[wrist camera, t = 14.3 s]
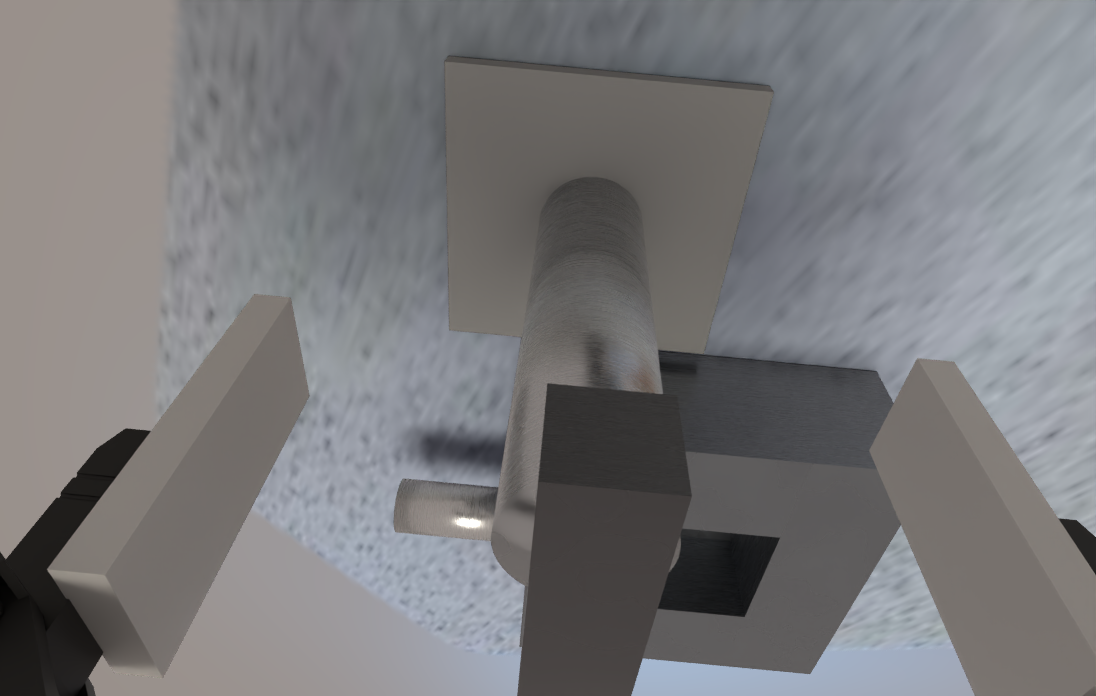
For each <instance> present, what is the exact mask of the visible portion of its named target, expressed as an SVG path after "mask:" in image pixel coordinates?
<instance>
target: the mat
mask: <svg viewBox="0 0 1096 696" xmlns="http://www.w3.org/2000/svg"><path fill="white" fill-rule="evenodd" d="M444 64H445V120H446V177H447V233H448V290H449V330H452V331H463V332H474V333H484V334H495V335H506V336H516V337H522V331H523V325H524V318H525V312H526V305H527V299H528V292H529V286H530V279H531V273H532V266H533V260H534V253H535V247H536V240H537V234H538V227H539V221H540V214H541V211H542V208H543V206H544V204H545V202H546V200H547V199H548V197H549V196H550V195H551V194H552V193H553V192H554V191H555V190H556V189H557V188H559V187H560V186H562V185H563V184H565V183H567V182H569V181H572V180H574V179H578V178H583V177H599V178H605V179H608V180H611V181H613V182H616V183H618V184H619V185H621V186H622V187H624V188H625V189H626V190H627V191H628V192H629V193H630V194H631V195H632V196H633V197H634V199H635V200H636V202H637V204H638V206H639V208H640V211H641V216H642V222H643V231H644V239H645V247H646V256H647V264H648V272H649V281H650V289H651V297H652V305H653V314H654V322H655V330H656V339H657V347H658V350H665V351H676V352H687V353H697V354H704V351H705V347H706V343H707V340H708V336H709V332H710V329H711V325H712V321H713V317H714V314H715V310H716V306H717V302H718V299H719V295H720V291H721V288H722V284H723V280H724V276H725V273H726V269H727V265H728V262H729V258H730V254H731V250H732V247H733V243H734V239H735V235H736V232H737V228H738V224H739V221H740V217H741V213H742V209H743V206H744V202H745V198H746V195H747V191H748V187H749V183H750V180H751V176H752V172H753V169H754V165H755V161H756V157H757V154H758V150H759V146H760V142H761V139H762V135H763V131H764V128H765V124H766V120H767V116H768V113H769V109H770V105H771V102H772V98H773V94H774V91H773V90H772V89H771V87H770V86H765V85H755V84H744V83H733V82H722V81H712V80H701V79H690V78H679V77H669V76H658V75H647V74H636V73H626V72H615V71H604V70H594V69H583V68H572V67H561V66H551V65H540V64H529V63H518V62H508V61H497V60H486V59H475V58H465V57H454V56H448V57H447V59H446V60H445V61H444Z"/></svg>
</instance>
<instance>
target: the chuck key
mask: <svg viewBox="0 0 1096 696" xmlns="http://www.w3.org/2000/svg"><path fill="white" fill-rule="evenodd" d="M691 498H692V493H691V486H690V480H689V473H688V466H687V459H686V452H685V445H684V438H683V432H682V425H681V418H680V411H679V404H678V397H677V395H666V394H663V389H662V380H661V372H660V364H659V355H658V347H657V339H656V330H655V322H654V314H653V305H652V297H651V289H650V281H649V272H648V264H647V256H646V247H645V239H644V231H643V222H642V216H641V211H640V208H639V206H638V204H637V202H636V200H635V199H634V197H633V196H632V195H631V194H630V193H629V192H628V191H627V190H626V189H625V188H624V187H622V186H621V185H619V184H618V183H616V182H613V181H611V180H608V179H605V178H599V177H583V178H578V179H574V180H572V181H569V182H567V183H565V184H563V185H562V186H560V187H559V188H557V189H556V190H555V191H554V192H553V193H552V194H551V195H550V196H549V197H548V199H547V200H546V202H545V204H544V206H543V208H542V211H541V214H540V221H539V227H538V234H537V240H536V247H535V253H534V260H533V266H532V273H531V279H530V286H529V292H528V299H527V305H526V312H525V318H524V325H523V331H522V338H521V344H520V351H519V357H518V364H517V370H516V377H515V383H514V390H513V396H512V403H511V409H510V416H509V422H508V429H507V436H506V442H505V449H504V455H503V462H502V468H501V475H500V481H499V488H498V494H497V501H496V507H495V514H494V520H493V527H492V534H491V545H492V549H493V553H494V555H495V557H496V559H497V561H498V562H499V564H500V565H501V566H502V568H503V569H504V570H505V571H506V572H507V573H508V574H509V575H511V576H512V577H513V578H514V579H515V580H517V581H519V582H520V583H522V584H523V585H525V586H527V587H528V589H527V599H526V610H525V620H524V631H523V641H522V651H521V662H520V673H519V684H518V694H517V696H631V694H632V691H633V688H634V685H635V681H636V678H637V675H638V672H639V668H640V665H641V662H642V658H643V655H644V652H645V649H646V645H647V642H648V639H649V636H650V632H651V629H652V626H653V622H654V619H655V616H656V613H657V609H658V606H659V603H660V600H661V596H662V593H663V590H664V586H665V583H666V580H667V577H668V573H669V572H670V571H671V570H672V568H673V567H674V565H675V564H676V562H677V559H678V557H679V554H680V549H681V538H680V534H681V531H682V527H683V524H684V521H685V518H686V514H687V511H688V508H689V505H690V501H691Z"/></svg>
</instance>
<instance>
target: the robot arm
mask: <svg viewBox="0 0 1096 696" xmlns="http://www.w3.org/2000/svg"><path fill="white" fill-rule="evenodd" d="M308 398H309V390H308V385H307V380H306V375H305V369H304V364H303V359H302V354H301V349H300V343H299V338H298V333H297V328H296V323H295V317H294V312H293V307H292V302H291V298H290V297H280V296H269V295H259V294H254V295H253V296H252V298H251V299H250V300H249V302H248V303H247V304H246V306H245V307H244V308H243V310H242V311H241V312H240V314H239V315H238V316H237V318H236V319H235V320H234V322H233V323H232V324H231V326H230V327H229V328H228V330H227V331H226V332H225V334H224V335H223V336H222V338H221V339H220V340H219V342H218V343H217V344H216V346H215V347H214V348H213V350H212V351H211V352H210V354H209V355H208V356H207V358H206V359H205V360H204V362H203V363H202V364H201V365H200V367H199V368H198V369H197V371H196V372H195V373H194V375H193V376H192V377H191V379H190V380H189V381H188V383H187V384H186V385H185V387H184V388H183V389H182V391H181V392H180V393H179V395H178V396H177V397H176V399H175V400H174V401H173V403H172V404H171V405H170V407H169V408H168V409H167V411H166V412H165V413H164V415H163V416H162V417H161V419H160V420H159V421H158V423H157V424H156V425H155V427H154V428H153V429H152V431H146V430H136V429H124V430H123V431H121V432H120V433H119V434H117V435H116V436H114V437H113V438H111V439H110V440H108V441H107V442H106V443H104V444H103V445H101V446H100V447H98V448H97V449H96V450H95V451H94V453H93V454H92V455H91V456H90V458H89V459H88V460H87V461H86V463H85V464H84V465H83V466H82V467H81V468H80V470H79V471H78V472H77V477H76V478H73V479H71V481H70V482H69V483H68V484H67V486H66V487H65V488H64V489H63V490H62V492H61V496H60V498H56V499H55V500H54V501H53V503H52V504H51V505H50V506H49V507H48V509H47V510H46V511H45V512H44V514H43V515H42V516H41V517H40V518H39V520H38V521H37V522H36V523H35V525H34V526H33V527H32V528H31V529H30V531H29V532H28V533H27V534H26V536H25V537H24V538H23V539H22V541H21V542H20V543H19V544H18V545H17V547H16V548H15V549H14V550H13V551H12V553H11V554H10V555H9V556H8V558H7V559H5V558H4V557H3V555H2V554H1V553H0V696H95V691H94V687H93V685H92V683H91V682H90V680H89V678H88V677H89V675H90V674H91V672H92V671H93V669H94V667H95V666H96V664H97V662H98V661H99V659H100V657H101V656H102V655H103V656H104V658H105V659H106V661H107V663H108V664H109V666H110V667H111V669H112V670H113V672H114V673H118V674H128V675H137V676H147V677H157V678H163V677H164V675H165V673H166V671H167V669H168V667H169V666H170V664H171V662H172V660H173V658H174V656H175V654H176V652H177V650H178V648H179V646H180V644H181V643H182V641H183V639H184V637H185V635H186V633H187V631H188V629H189V627H190V625H191V623H192V621H193V619H194V617H195V616H196V614H197V612H198V610H199V608H200V606H201V604H202V602H203V600H204V598H205V596H206V594H207V592H208V591H209V588H210V587H211V585H212V583H213V581H214V579H215V577H216V575H217V573H218V571H219V569H220V567H221V565H222V563H223V562H224V560H225V558H226V556H227V554H228V552H229V550H230V548H231V546H232V544H233V542H234V540H235V538H236V536H237V534H238V532H239V531H240V529H241V527H242V525H243V523H244V521H245V519H246V517H247V515H248V513H249V512H250V510H251V508H252V506H253V504H254V502H255V500H256V498H257V496H258V494H259V492H260V490H261V488H262V486H263V485H264V483H265V481H266V479H267V477H268V475H269V473H270V471H271V469H272V467H273V465H274V463H275V461H276V460H277V458H278V456H279V454H280V452H281V450H282V448H283V446H284V444H285V442H286V440H287V438H288V436H289V434H290V433H291V431H292V429H293V427H294V425H295V423H296V421H297V419H298V417H299V415H300V413H301V411H302V409H303V408H304V406H305V404H306V402H307V400H308ZM869 452H870V454H871V456H872V459H873V461H874V463H875V466H876V468H877V470H878V472H879V475H880V477H881V479H882V482H883V484H884V486H885V489H886V491H887V493H888V496H889V498H890V500H891V503H892V505H893V507H894V510H895V512H896V514H897V516H898V519H899V521H900V523H901V526H902V528H903V530H904V533H905V535H906V537H907V540H908V542H909V544H910V547H911V549H912V551H913V554H914V556H915V558H916V560H917V563H918V565H919V567H920V570H921V572H922V574H923V577H924V579H925V581H926V584H927V586H928V588H929V591H930V593H931V595H932V598H933V600H934V602H935V604H936V607H937V609H938V611H939V614H940V616H941V618H942V621H943V623H944V625H945V628H946V630H947V632H948V635H949V637H950V639H951V642H952V644H953V646H954V648H955V651H956V653H957V655H958V658H959V660H960V662H961V665H962V667H963V669H964V672H965V674H966V676H967V678H968V681H969V683H970V685H971V688H972V690H973V692H974V694H975V696H1096V537H1095V536H1094V535H1093V534H1092V533H1090V532H1089V531H1088V530H1087V529H1086V528H1085V527H1084V526H1082V525H1081V524H1080V523H1079V522H1078V521H1077V520H1069V519H1059V518H1058V517H1057V516H1056V514H1055V513H1054V511H1053V510H1052V508H1051V507H1050V505H1049V504H1048V502H1047V501H1046V499H1045V498H1044V496H1043V495H1042V493H1041V492H1040V490H1039V489H1038V487H1037V486H1036V484H1035V483H1034V481H1033V480H1032V478H1031V477H1030V475H1029V474H1028V472H1027V471H1026V469H1025V468H1024V466H1023V465H1022V463H1021V462H1020V460H1019V459H1018V457H1017V456H1016V454H1015V453H1014V451H1013V450H1012V448H1011V447H1010V445H1009V444H1008V442H1007V441H1006V439H1005V438H1004V436H1003V435H1002V433H1001V432H1000V430H999V429H998V427H997V426H996V424H995V423H994V421H993V420H992V418H991V417H990V415H989V414H988V412H987V411H986V409H985V408H984V406H983V405H982V403H981V402H980V400H979V399H978V397H977V396H976V394H975V393H974V391H973V390H972V388H971V387H970V385H969V384H968V382H967V381H966V379H965V378H964V376H963V375H962V373H961V372H960V370H959V369H958V367H957V366H956V364H955V362H950V361H940V360H930V359H919V358H917V360H916V362H915V364H914V366H913V368H912V369H911V371H910V373H909V375H908V377H907V379H906V381H905V383H904V385H903V387H902V389H901V390H900V392H899V394H898V396H897V398H896V400H895V402H894V404H893V406H892V408H891V410H890V411H889V413H888V415H887V417H886V419H885V421H884V423H883V425H882V427H881V429H880V431H879V432H878V434H877V436H876V438H875V440H874V442H873V444H872V446H871V448H870V450H869Z"/></svg>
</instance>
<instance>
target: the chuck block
mask: <svg viewBox="0 0 1096 696" xmlns="http://www.w3.org/2000/svg"><path fill="white" fill-rule="evenodd" d="M658 355H659V364H660V372H661V380H662V389H663V394H666V395H677V397H678V404H679V411H680V418H681V425H682V432H683V438H684V445H685V452H686V459H687V466H688V473H689V480H690V486H691V493H692V498H691V501H690V505H689V508H688V511H687V514H686V518H685V521H684V524H683V527H682V531H681V534H680V538H681V549H680V554H679V557H678V559H677V562H676V564H675V565H674V567H673V568H672V570H671V571H670V572H669V573H668V577H667V580H666V583H665V586H664V590H663V593H662V596H661V600H660V603H659V606H658V609H657V613H656V616H655V619H654V622H653V626H652V629H651V632H650V636H649V639H648V642H647V645H646V649H645V652H644V655H643V658H646V659H656V660H668V661H677V662H688V663H700V664H709V665H720V666H730V667H742V668H752V669H762V670H772V671H783V672H793V673H804V674H810V673H811V672H812V670H813V668H814V667H815V665H816V664H817V662H818V660H819V659H820V657H821V655H822V654H823V652H824V650H825V649H826V647H827V645H828V644H829V642H830V641H831V639H832V637H833V636H834V634H835V632H836V631H837V629H838V627H839V626H840V624H841V622H842V621H843V619H844V618H845V616H846V614H847V613H848V611H849V609H850V608H851V606H852V604H853V603H854V601H855V599H856V598H857V596H858V595H859V593H860V591H861V590H862V588H863V586H864V585H865V583H866V581H867V580H868V578H869V576H870V575H871V573H872V572H873V570H874V568H875V567H876V565H877V563H878V562H879V560H880V558H881V557H882V555H883V553H884V552H885V550H886V548H887V547H888V545H889V544H890V542H891V540H892V539H893V537H894V535H895V534H896V532H897V530H898V529H899V527H900V525H901V523H900V521H899V519H898V516H897V514H896V512H895V510H894V507H893V505H892V503H891V500H890V498H889V496H888V493H887V491H886V489H885V486H884V484H883V482H882V479H881V477H880V475H879V472H878V470H877V468H876V466H875V463H874V461H873V459H872V456H871V454H870V452H869V450H870V448H871V446H872V444H873V442H874V440H875V438H876V436H877V434H878V432H879V431H880V429H881V427H882V425H883V423H884V421H885V419H886V417H887V415H888V413H889V411H890V410H891V408H892V406H893V404H894V403H893V401H892V400H891V398H890V396H889V394H888V392H887V390H886V388H885V386H884V385H883V383H882V381H881V379H880V377H879V375H878V373H877V372H874V371H864V370H853V369H842V368H832V367H821V366H811V365H800V364H789V363H779V362H768V361H757V360H747V359H736V358H725V357H715V356H704V355H693V354H683V353H672V352H661V351H658ZM498 488H499V487H489V486H478V485H468V484H457V483H447V482H436V481H425V480H415V479H402V481H401V483H400V485H399V488H398V492H397V497H396V502H395V509H394V529H395V532H398V533H408V534H419V535H430V536H440V537H451V538H461V539H472V540H483V541H491V534H492V527H493V520H494V514H495V507H496V501H497V494H498ZM527 589H528V587H527V586H525V592H524V603H523V614H522V625H521V636H520V647H522V641H523V631H524V620H525V610H526V599H527Z"/></svg>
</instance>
